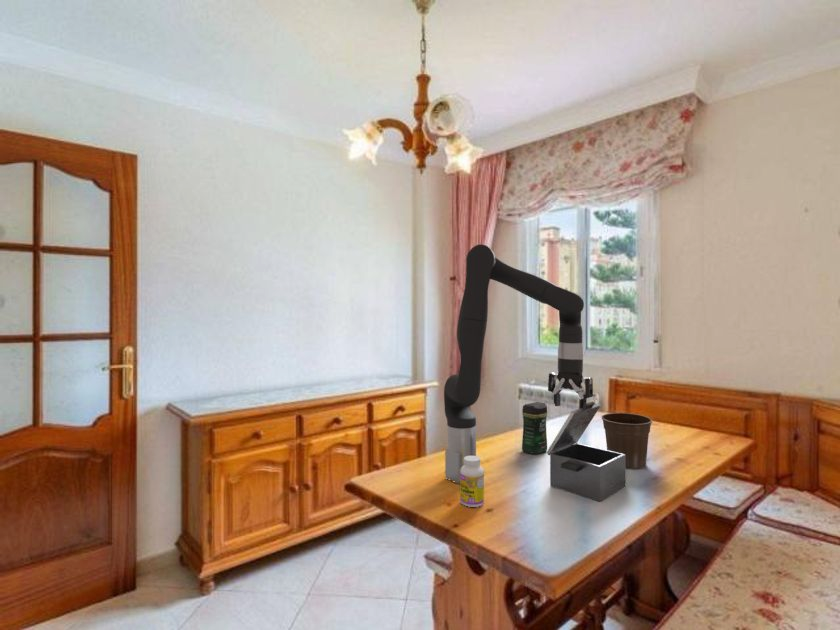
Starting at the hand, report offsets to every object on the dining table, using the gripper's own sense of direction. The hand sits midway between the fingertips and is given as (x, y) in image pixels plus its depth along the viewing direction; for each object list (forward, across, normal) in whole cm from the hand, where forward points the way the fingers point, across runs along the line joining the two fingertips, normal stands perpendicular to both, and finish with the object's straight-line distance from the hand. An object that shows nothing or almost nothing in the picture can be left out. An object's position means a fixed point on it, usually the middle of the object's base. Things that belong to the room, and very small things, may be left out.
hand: (569, 408), depth 146 cm
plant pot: (+23, +6, +29) cm, 37 cm away
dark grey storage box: (+23, +6, 0) cm, 24 cm away
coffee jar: (+24, -24, +18) cm, 38 cm away
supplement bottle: (+23, -10, -35) cm, 43 cm away
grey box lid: (+6, +2, 0) cm, 6 cm away
